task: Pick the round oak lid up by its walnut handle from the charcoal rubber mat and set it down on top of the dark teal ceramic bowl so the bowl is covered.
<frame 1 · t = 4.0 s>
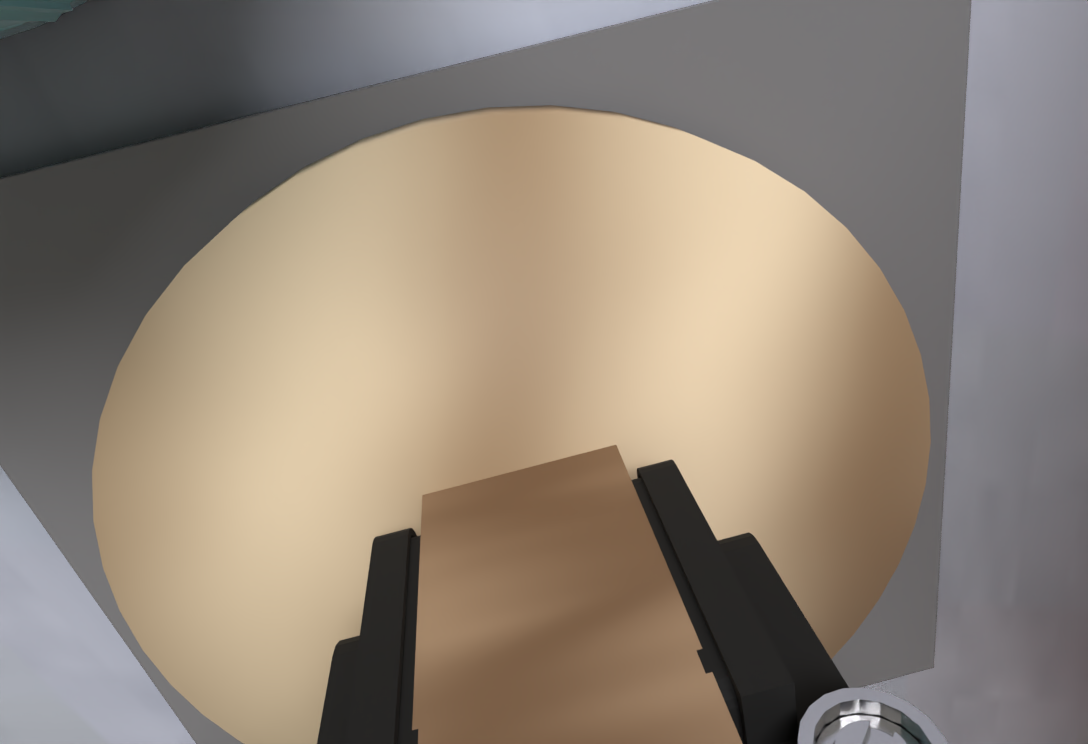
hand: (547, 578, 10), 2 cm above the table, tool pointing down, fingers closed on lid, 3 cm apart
lid: (533, 507, 12), point 1 cm above the table, touching gripper, mat
mat: (529, 485, 13), on the table
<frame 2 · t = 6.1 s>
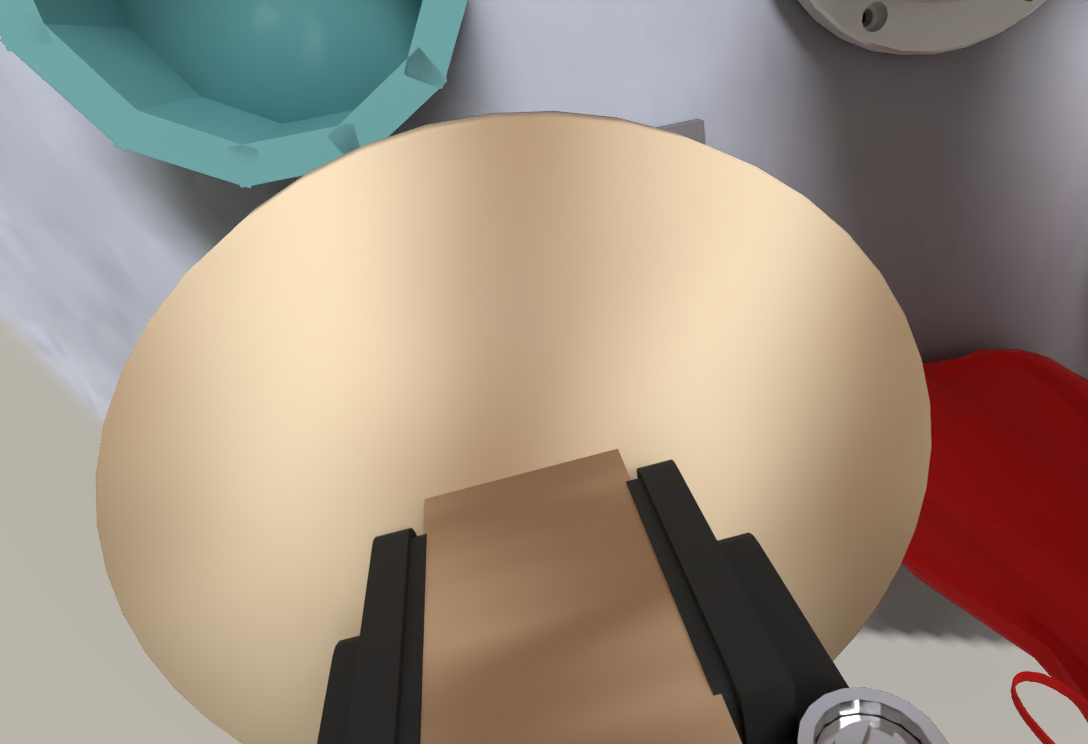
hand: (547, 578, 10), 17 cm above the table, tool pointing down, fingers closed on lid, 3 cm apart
water bottle: (917, 437, 32), on the table
lid: (535, 510, 12), point 15 cm above the table, touching gripper
mat: (525, 342, 27), on the table
when the fingers open (9 cm above the table, at t = 8.5 s): lid drops 1 cm, resting on bowl.
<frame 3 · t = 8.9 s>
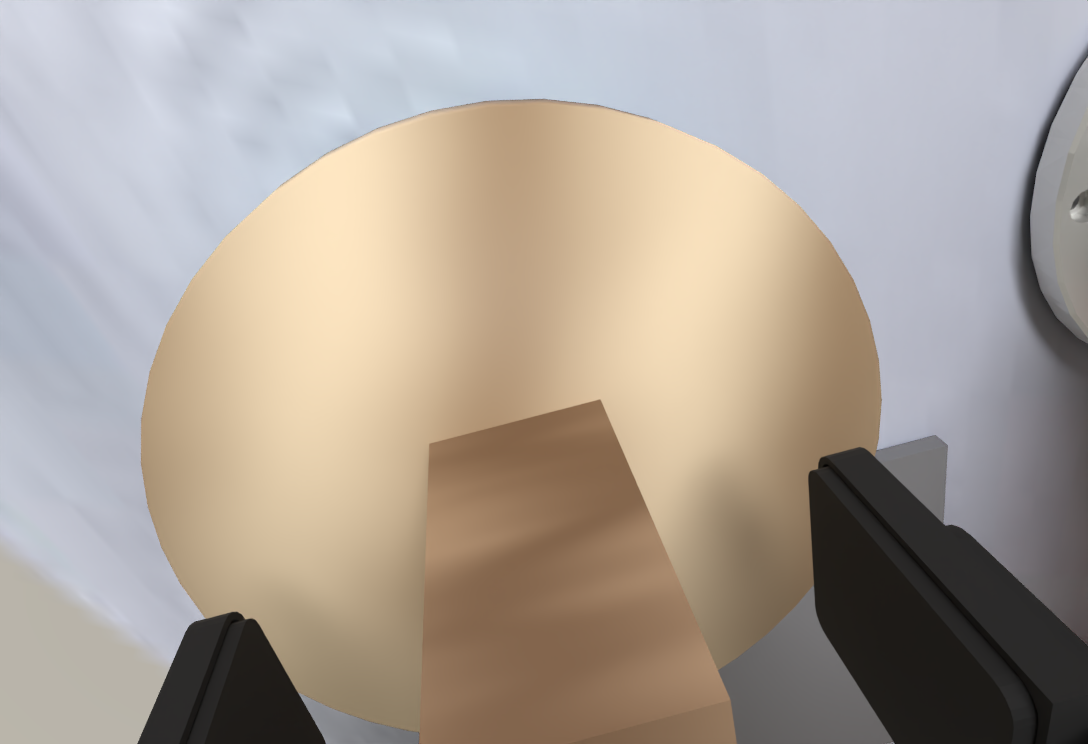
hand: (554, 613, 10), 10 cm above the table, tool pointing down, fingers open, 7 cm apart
lid: (528, 460, 13), point 6 cm above the table, touching bowl
mat: (729, 647, 25), on the table
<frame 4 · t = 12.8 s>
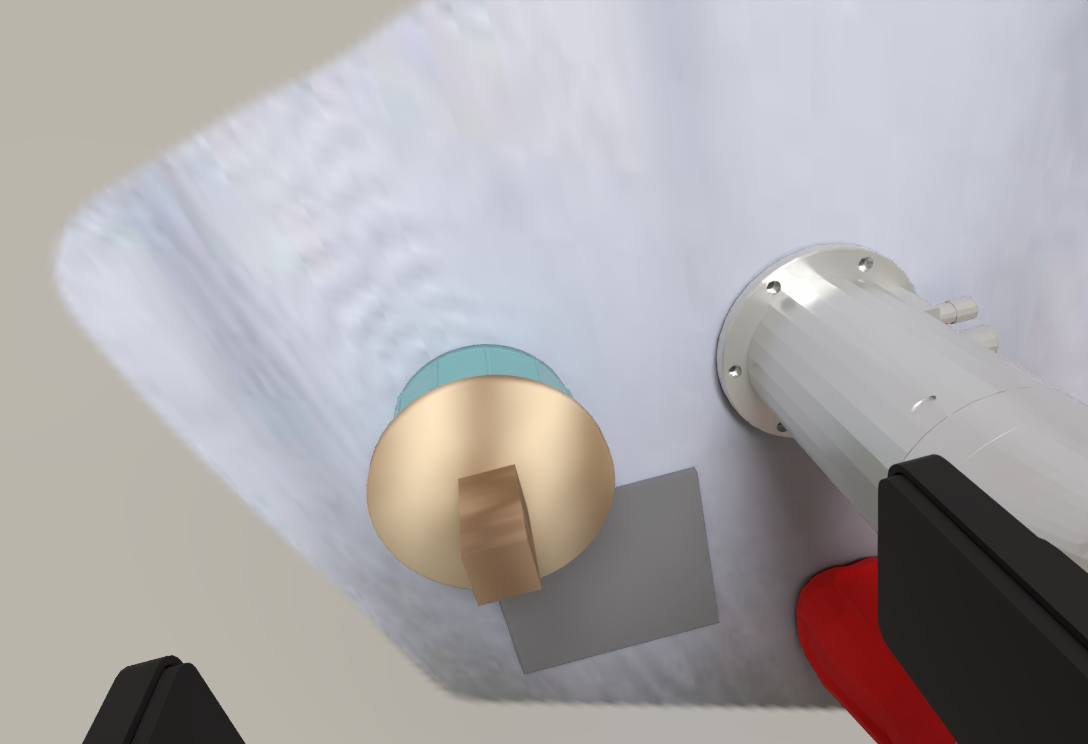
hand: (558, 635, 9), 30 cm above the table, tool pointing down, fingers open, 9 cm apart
water bottle: (836, 600, 54), on the table
bowl: (484, 426, 43), on the table
lid: (492, 483, 37), point 6 cm above the table, touching bowl
mat: (603, 573, 49), on the table
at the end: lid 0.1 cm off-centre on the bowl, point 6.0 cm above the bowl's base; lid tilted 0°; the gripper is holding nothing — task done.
